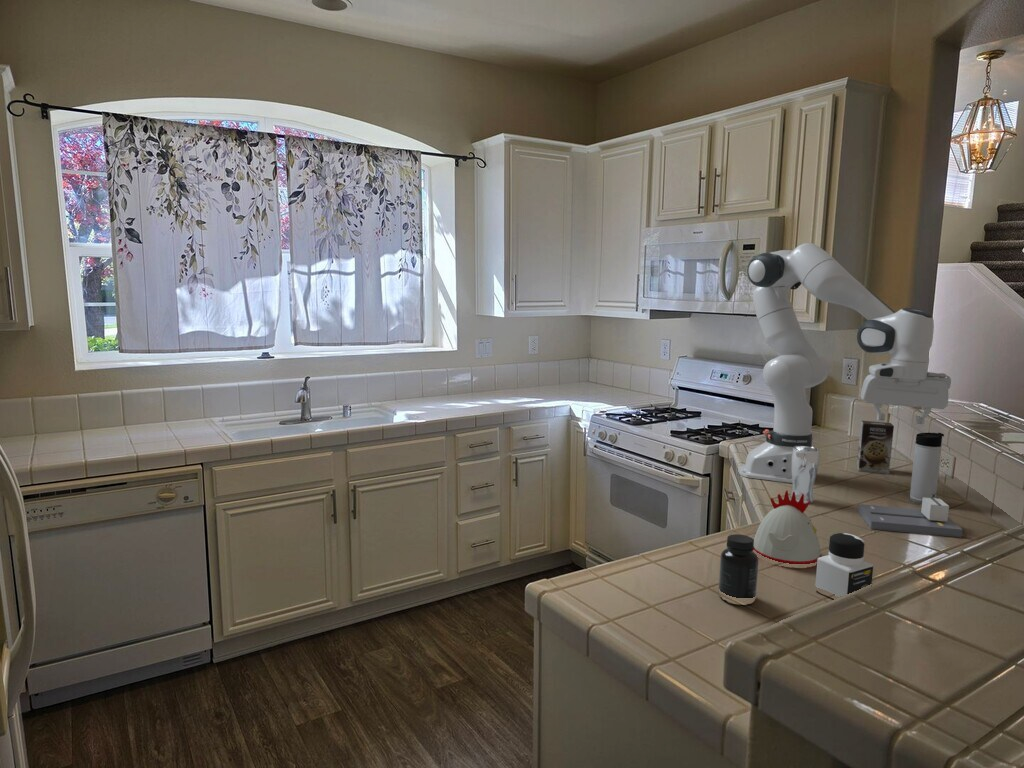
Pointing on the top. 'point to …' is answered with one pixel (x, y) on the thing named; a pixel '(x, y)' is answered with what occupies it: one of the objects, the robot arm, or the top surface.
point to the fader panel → (906, 521)
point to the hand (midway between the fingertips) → (899, 421)
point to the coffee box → (875, 447)
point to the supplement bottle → (739, 567)
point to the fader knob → (935, 509)
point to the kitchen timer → (788, 533)
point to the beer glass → (804, 471)
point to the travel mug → (925, 466)
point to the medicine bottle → (844, 566)
